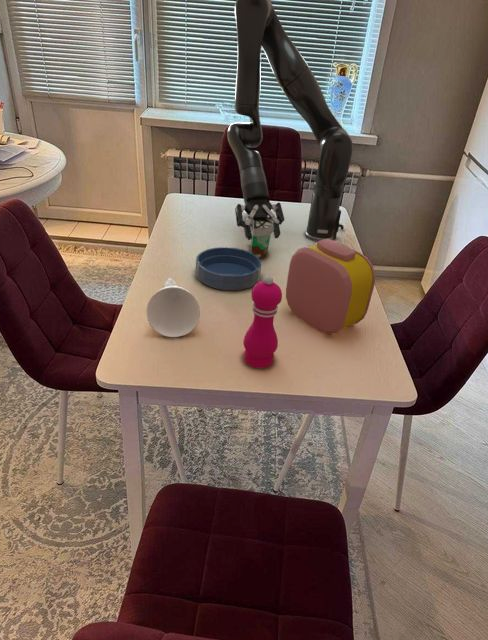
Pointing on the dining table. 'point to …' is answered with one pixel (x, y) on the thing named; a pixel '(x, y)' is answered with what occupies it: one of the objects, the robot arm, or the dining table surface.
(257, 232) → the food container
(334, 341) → the dining table surface
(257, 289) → the pepper mill
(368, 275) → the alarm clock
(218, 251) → the bowl
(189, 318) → the rocket engine
